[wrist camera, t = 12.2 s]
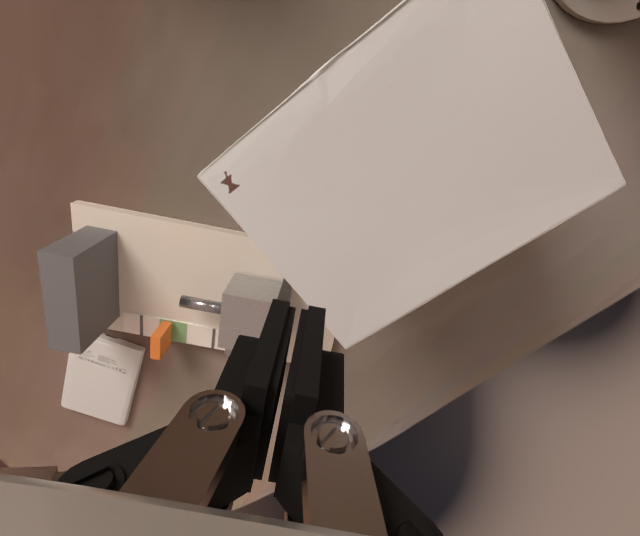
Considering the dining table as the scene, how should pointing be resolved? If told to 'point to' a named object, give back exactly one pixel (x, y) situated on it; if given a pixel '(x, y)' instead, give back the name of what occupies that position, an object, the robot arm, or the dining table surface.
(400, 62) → the supplement box
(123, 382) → the external hard drive
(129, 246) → the base
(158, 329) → the small orange block
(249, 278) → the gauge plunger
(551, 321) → the dining table surface
